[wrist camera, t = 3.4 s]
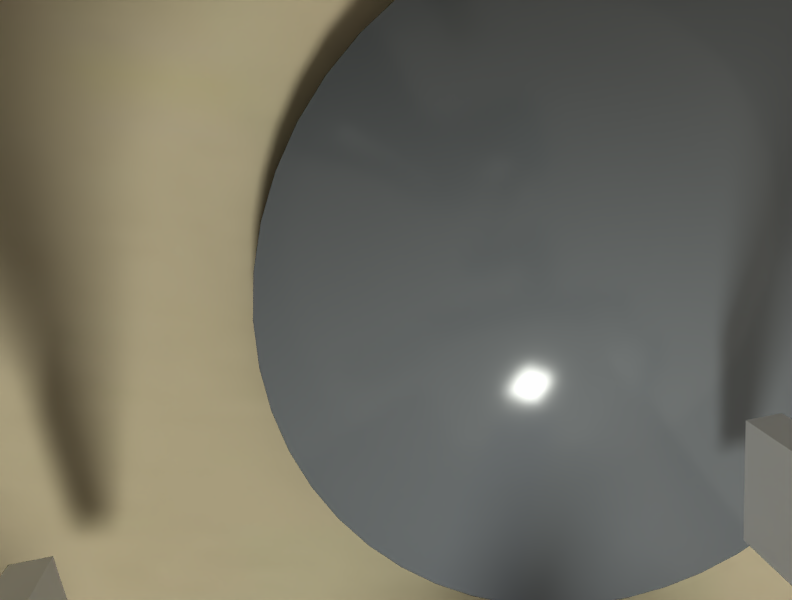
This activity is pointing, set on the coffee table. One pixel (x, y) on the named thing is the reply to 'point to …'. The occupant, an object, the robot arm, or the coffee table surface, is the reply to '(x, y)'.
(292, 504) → the coffee table surface
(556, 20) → the grey round disc
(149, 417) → the coffee table surface
